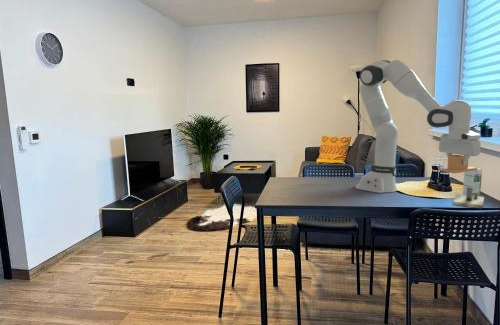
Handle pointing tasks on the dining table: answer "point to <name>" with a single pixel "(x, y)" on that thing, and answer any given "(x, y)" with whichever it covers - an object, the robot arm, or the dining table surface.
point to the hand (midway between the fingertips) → (457, 163)
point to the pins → (470, 194)
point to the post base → (462, 201)
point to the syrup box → (472, 181)
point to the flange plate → (456, 165)
